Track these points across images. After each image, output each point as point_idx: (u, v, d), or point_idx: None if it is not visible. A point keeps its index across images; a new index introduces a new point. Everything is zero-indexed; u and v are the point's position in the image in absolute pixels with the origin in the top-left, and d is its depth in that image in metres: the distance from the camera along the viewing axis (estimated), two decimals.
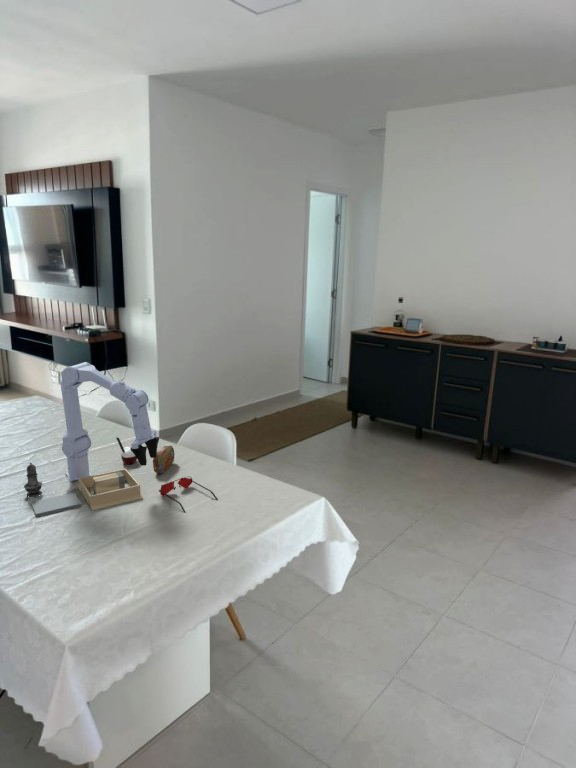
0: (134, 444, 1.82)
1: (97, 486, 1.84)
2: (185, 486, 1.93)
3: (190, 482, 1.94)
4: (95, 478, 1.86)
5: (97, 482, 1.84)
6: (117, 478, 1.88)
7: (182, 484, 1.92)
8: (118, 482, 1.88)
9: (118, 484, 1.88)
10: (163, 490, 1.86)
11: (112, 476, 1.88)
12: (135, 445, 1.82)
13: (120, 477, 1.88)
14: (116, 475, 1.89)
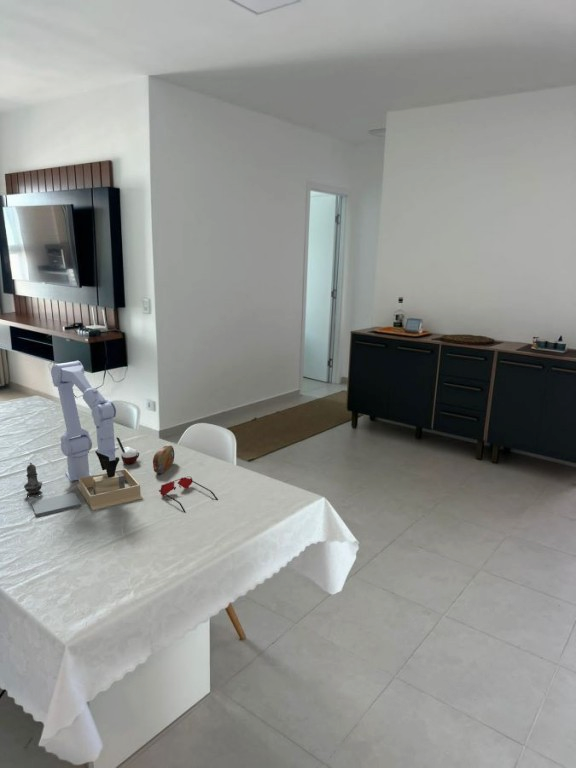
0: (113, 456, 1.79)
1: (97, 486, 1.84)
2: (185, 486, 1.93)
3: (190, 482, 1.94)
4: (95, 478, 1.86)
5: (97, 482, 1.84)
6: (117, 478, 1.88)
7: (182, 484, 1.92)
8: (118, 482, 1.88)
9: (118, 484, 1.88)
10: (163, 490, 1.86)
11: None
12: (114, 456, 1.80)
13: (120, 477, 1.88)
14: (116, 475, 1.89)
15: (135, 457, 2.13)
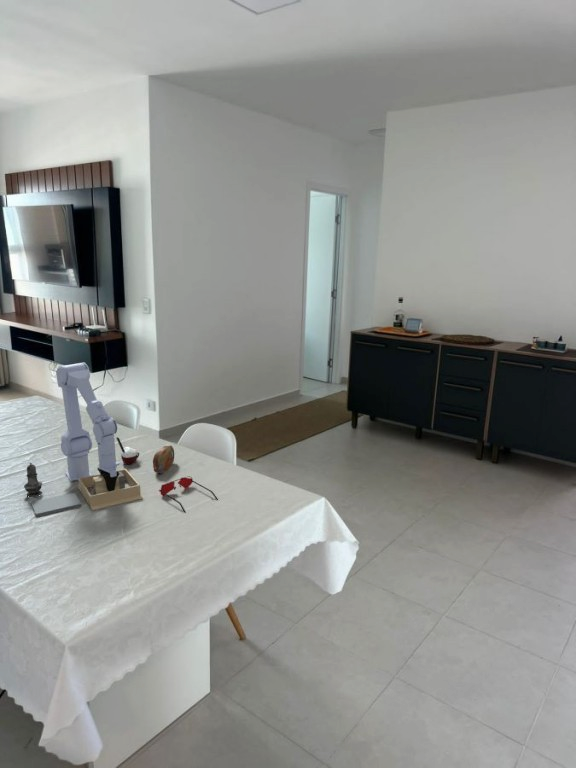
0: (114, 472, 1.81)
1: (97, 486, 1.84)
2: (185, 486, 1.93)
3: (190, 482, 1.94)
4: (95, 478, 1.86)
5: (97, 482, 1.84)
6: (117, 478, 1.87)
7: (182, 484, 1.92)
8: (118, 482, 1.88)
9: (118, 484, 1.88)
10: (163, 490, 1.86)
11: None
12: (115, 473, 1.81)
13: (120, 477, 1.88)
14: None
15: (135, 457, 2.13)
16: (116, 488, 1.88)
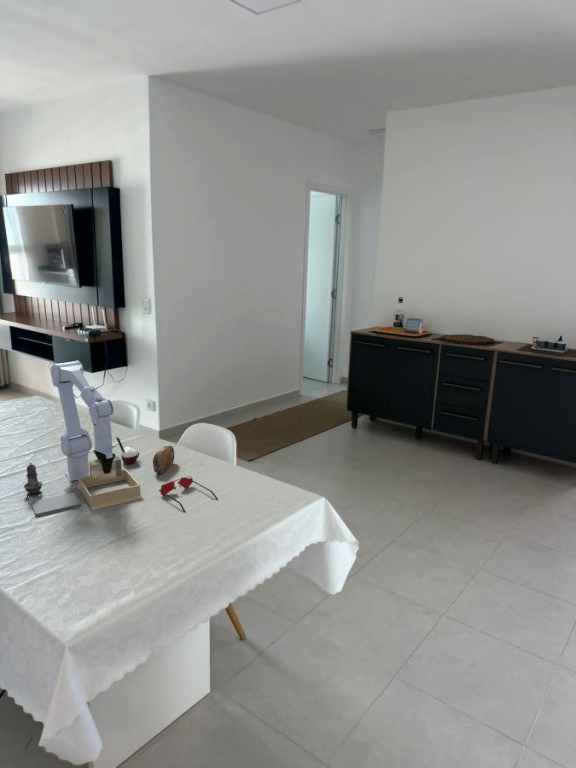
0: (110, 453, 1.79)
1: (93, 469, 1.82)
2: (185, 486, 1.93)
3: (190, 482, 1.94)
4: (91, 461, 1.84)
5: (93, 465, 1.82)
6: (114, 462, 1.86)
7: (182, 484, 1.92)
8: (115, 466, 1.86)
9: (115, 468, 1.86)
10: (163, 490, 1.86)
11: None
12: (111, 454, 1.79)
13: (117, 461, 1.86)
14: None
15: (135, 457, 2.13)
16: (113, 472, 1.86)
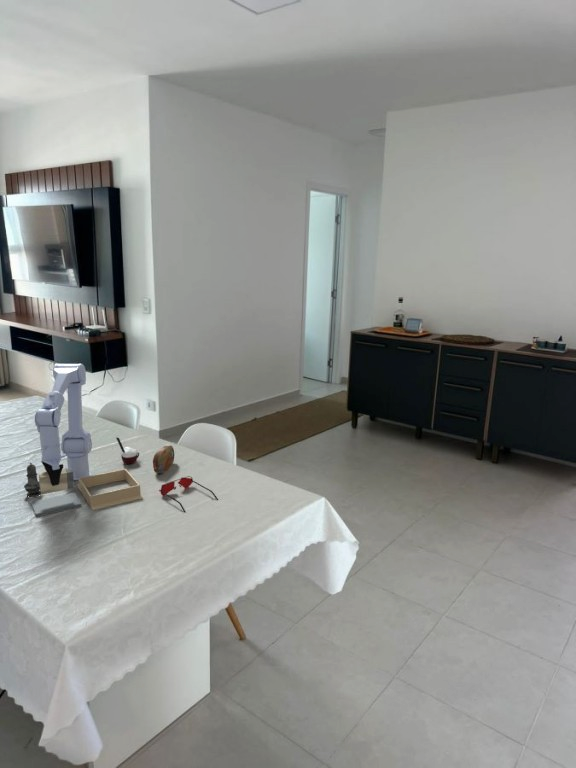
0: (56, 464, 1.69)
1: (42, 482, 1.73)
2: (185, 486, 1.93)
3: (190, 482, 1.94)
4: (41, 474, 1.75)
5: (42, 478, 1.72)
6: (65, 474, 1.76)
7: (182, 484, 1.92)
8: (66, 478, 1.77)
9: (66, 481, 1.77)
10: (163, 490, 1.86)
11: None
12: (57, 465, 1.69)
13: (68, 473, 1.77)
14: (64, 471, 1.77)
15: (135, 457, 2.13)
16: (64, 485, 1.77)
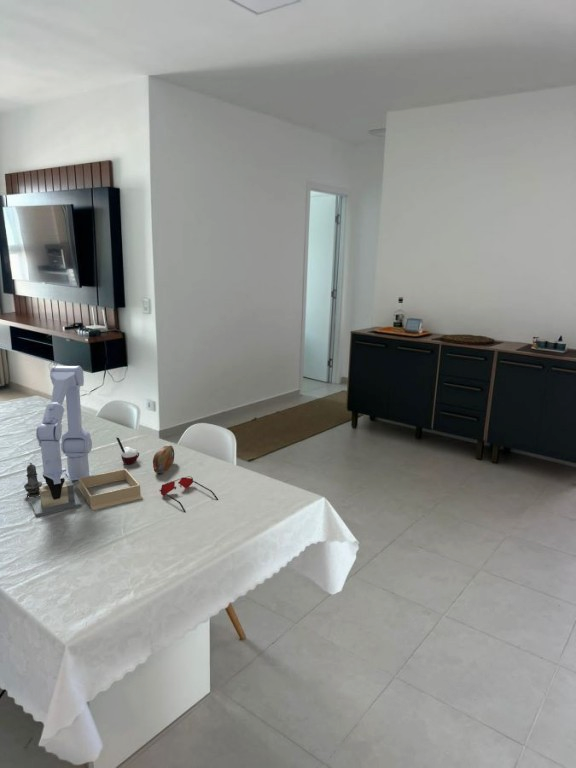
0: (57, 479, 1.70)
1: (43, 496, 1.74)
2: (186, 486, 1.93)
3: (191, 482, 1.94)
4: (42, 487, 1.76)
5: (43, 492, 1.73)
6: (65, 487, 1.77)
7: (183, 484, 1.92)
8: (67, 492, 1.78)
9: (67, 494, 1.78)
10: (164, 490, 1.87)
11: None
12: (59, 480, 1.70)
13: (69, 486, 1.78)
14: (65, 484, 1.78)
15: (135, 457, 2.13)
16: (64, 498, 1.78)
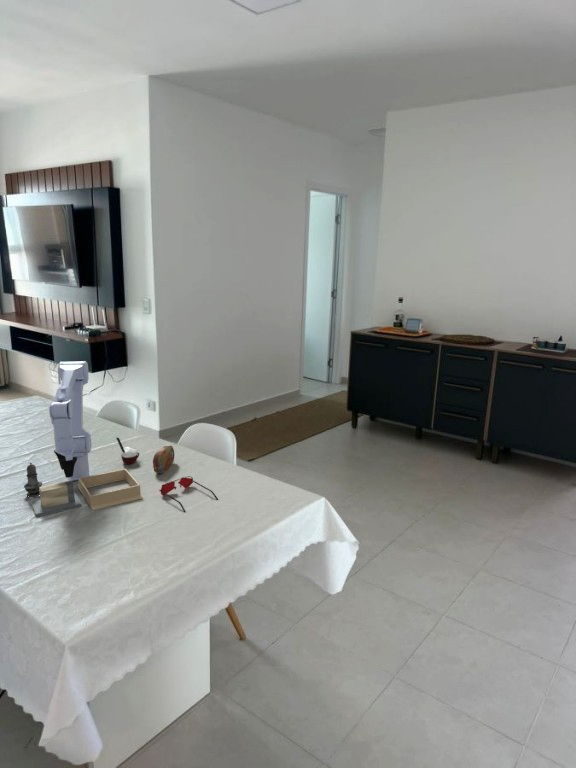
0: (69, 455, 1.75)
1: (43, 496, 1.74)
2: (186, 486, 1.93)
3: (191, 482, 1.94)
4: (42, 487, 1.76)
5: (43, 492, 1.73)
6: (65, 487, 1.77)
7: (183, 484, 1.92)
8: (67, 492, 1.78)
9: (67, 494, 1.78)
10: (164, 490, 1.87)
11: (60, 485, 1.77)
12: (70, 456, 1.75)
13: (69, 486, 1.78)
14: (65, 484, 1.78)
15: (135, 457, 2.13)
16: (64, 498, 1.78)
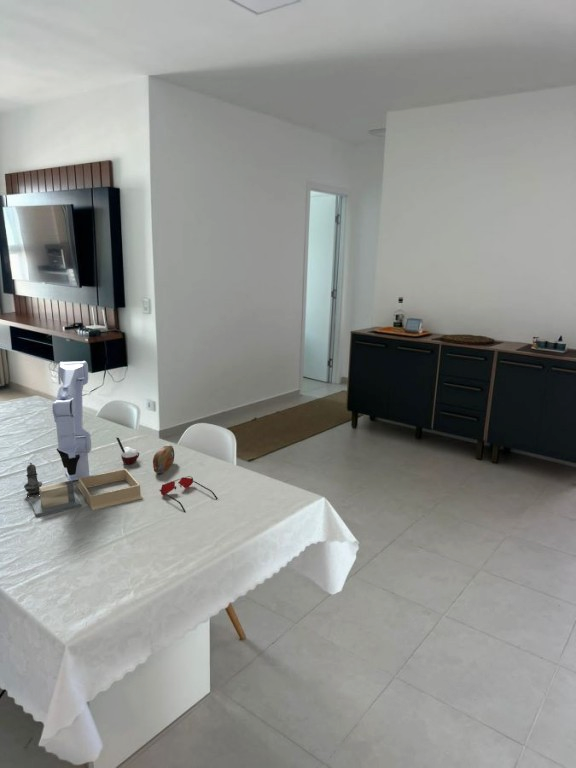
0: (72, 453, 1.76)
1: (43, 496, 1.74)
2: (186, 486, 1.93)
3: (191, 482, 1.94)
4: (42, 487, 1.76)
5: (43, 492, 1.73)
6: (65, 487, 1.77)
7: (183, 484, 1.92)
8: (67, 492, 1.78)
9: (67, 494, 1.78)
10: (164, 490, 1.87)
11: (60, 485, 1.77)
12: (73, 454, 1.76)
13: (69, 486, 1.78)
14: (65, 484, 1.78)
15: (135, 457, 2.13)
16: (64, 498, 1.78)
